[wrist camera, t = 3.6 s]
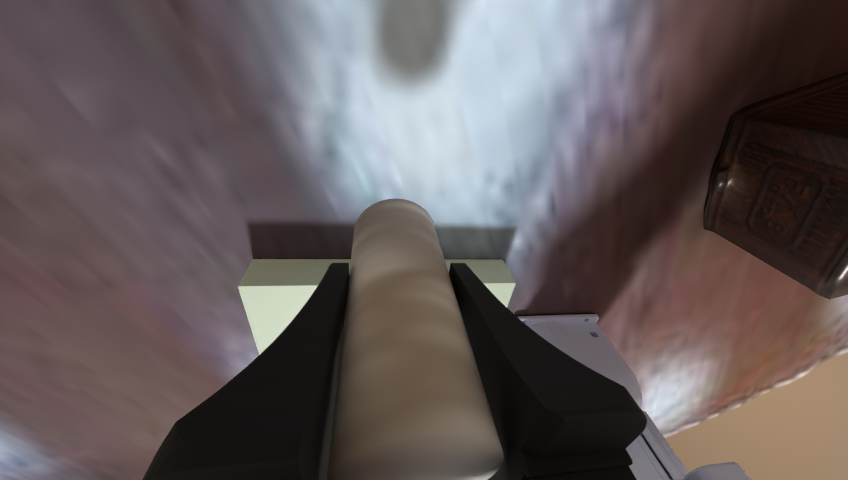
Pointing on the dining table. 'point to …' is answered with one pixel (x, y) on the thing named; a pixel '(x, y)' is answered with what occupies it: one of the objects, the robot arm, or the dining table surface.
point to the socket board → (298, 278)
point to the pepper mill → (788, 184)
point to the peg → (407, 361)
